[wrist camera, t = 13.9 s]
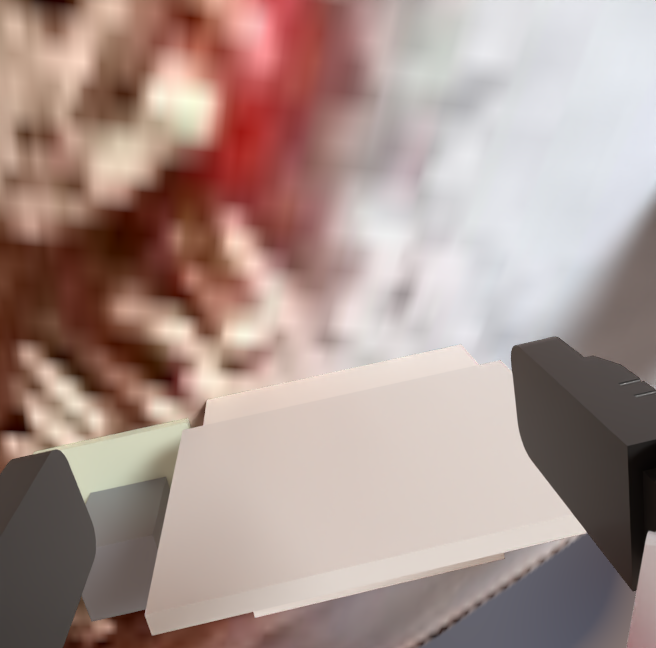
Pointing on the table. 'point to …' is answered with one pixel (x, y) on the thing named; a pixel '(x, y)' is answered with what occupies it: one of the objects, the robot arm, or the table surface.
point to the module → (124, 546)
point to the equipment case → (348, 489)
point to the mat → (125, 457)
